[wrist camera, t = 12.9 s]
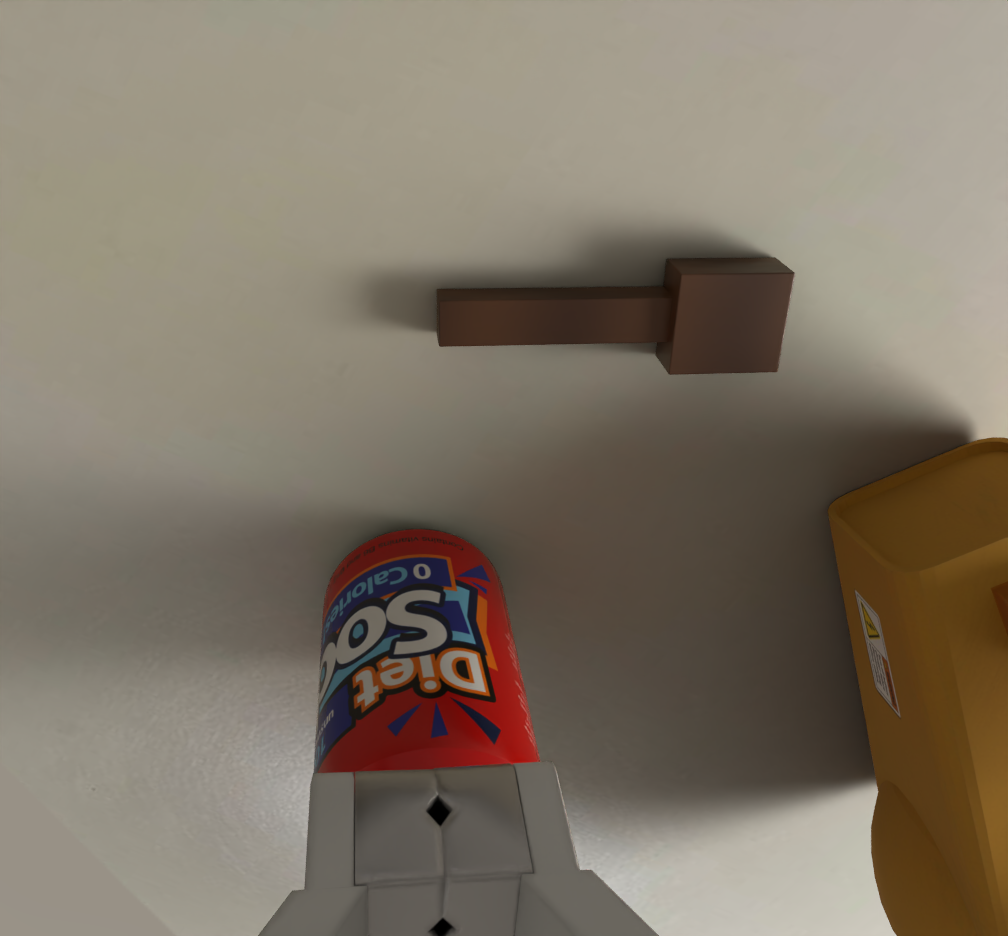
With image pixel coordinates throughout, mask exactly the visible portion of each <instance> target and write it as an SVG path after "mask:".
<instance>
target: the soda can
mask: <svg viewBox="0 0 1008 936" xmlns="http://www.w3.org/2000/svg"><path fill="white" fill-rule="evenodd" d="M528 762H540V758H539V753H538V748H537V744H536V739H535V734H534V730H533V725H532V721H531V716H530V711H529V707H528V702H527V697H526V693H525V688H524V683H523V679H522V674H521V669H520V665H519V660H518V655H517V651H516V646H515V642H514V637H513V632H512V628H511V623H510V618H509V614H508V609H507V604H506V600H505V595H504V591H503V587H502V584H501V581H500V578H499V576H498V574H497V572H496V570H495V568H494V566H493V565H492V563H491V562H490V561H489V559H488V558H487V557H486V556H485V555H484V554H483V553H482V552H481V551H480V550H479V549H478V548H476V547H475V546H473V545H472V544H470V543H469V542H467V541H465V540H463V539H461V538H459V537H457V536H454V535H451V534H448V533H445V532H440V531H435V530H427V529H408V530H400V531H395V532H391V533H387V534H384V535H381V536H379V537H376V538H374V539H372V540H370V541H368V542H366V543H364V544H362V545H361V546H359V547H358V548H356V549H355V550H354V551H352V552H351V553H350V554H349V555H348V556H347V557H346V558H345V559H344V560H343V561H342V562H341V563H340V564H339V566H338V567H337V569H336V570H335V572H334V573H333V575H332V577H331V579H330V581H329V584H328V587H327V590H326V594H325V599H324V608H323V621H322V638H321V656H320V673H319V690H318V707H317V724H316V742H315V759H314V773H337V772H354V776H355V771H386V770H422V769H434V768H444V767H459V766H475V765H490V764H505V763H511V765H512V764H513V763H528Z"/></svg>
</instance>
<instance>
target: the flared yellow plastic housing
mask: <svg viewBox="0 0 1008 936" xmlns="http://www.w3.org/2000/svg"><path fill="white" fill-rule="evenodd" d="M828 516H829V522H830V527H831V533H832V538H833V544H834V549H835V555H836V560H837V566H838V571H839V577H840V583H841V588H842V594H843V599H844V605H845V610H846V616H847V621H848V627H849V632H850V638H851V643H852V649H853V654H854V660H855V665H856V671H857V676H858V682H859V687H860V693H861V698H862V704H863V710H864V715H865V721H866V726H867V732H868V737H869V743H870V748H871V754H872V759H873V765H874V770H875V776H876V781H877V787H878V796H877V800H876V805H875V809H874V815H873V820H872V826H871V853H872V860H873V867H874V874H875V879H876V883H877V887H878V891H879V895H880V899H881V903H882V905H883V908H884V910H885V913H886V915H887V917H888V920H889V922H890V925H891V927H892V929H893V931H894V932H895V934H896V935H897V936H1008V439H1007V438H987V439H981V440H977V441H974V442H971V443H968V444H965V445H963V446H960V447H958V448H956V449H953V450H951V451H948V452H946V453H944V454H941V455H939V456H936V457H934V458H931V459H929V460H927V461H924V462H922V463H919V464H917V465H915V466H912V467H910V468H907V469H905V470H903V471H900V472H898V473H895V474H893V475H891V476H888V477H886V478H883V479H881V480H878V481H876V482H874V483H871V484H869V485H866V486H864V487H862V488H859V489H857V490H854V491H852V492H850V493H847V494H845V495H843V496H841V497H840V498H838V499H836V500H835V501H834V502H833V503H832V504H831V505H830V506H829V509H828Z"/></svg>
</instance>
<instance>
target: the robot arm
mask: <svg viewBox="0 0 1008 936" xmlns="http://www.w3.org/2000/svg"><path fill="white" fill-rule="evenodd" d="M258 936H659V935H658V934H657V933H656V932H655V931H654V930H653V929H652V928H651V927H649V926H648V925H647V924H646V923H645V922H644V921H643V920H642V919H641V918H640V917H639V916H638V915H637V914H636V913H635V912H634V911H633V910H632V909H631V908H630V907H629V906H628V905H627V904H626V903H625V902H624V901H623V900H622V899H621V898H620V897H619V896H618V895H617V894H616V893H615V892H614V891H613V890H612V889H611V888H610V887H609V886H608V885H607V884H606V883H605V882H604V881H603V880H602V879H600V878H599V877H598V876H597V875H596V874H595V873H594V872H593V871H592V870H580V868H579V864H578V860H577V855H576V851H575V847H574V843H573V838H572V834H571V830H570V825H569V821H568V817H567V813H566V808H565V804H564V800H563V795H562V791H561V787H560V783H559V778H558V774H557V770H556V767H555V765H554V764H553V763H552V761H546V762H528V763H513V764H512V765H511V763H505V764H490V765H475V766H459V767H444V768H434V769H422V770H386V771H355V776H354V772H337V773H313V777H312V781H311V786H310V804H309V821H308V838H307V856H306V873H305V890H295V891H292V892H291V893H290V894H289V896H288V897H287V898H286V899H285V901H284V902H283V903H282V905H281V906H280V907H279V909H278V910H277V911H276V913H275V914H274V915H273V917H272V918H271V919H270V921H269V922H268V923H267V925H266V926H265V927H264V928H263V930H262V931H261V932H260V934H259V935H258Z"/></svg>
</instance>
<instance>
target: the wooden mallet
mask: <svg viewBox="0 0 1008 936" xmlns="http://www.w3.org/2000/svg"><path fill="white" fill-rule="evenodd" d="M794 277H795V273H794V272H793V271H792V270H790V269H789V268H788V267H787V266H785V265H784V264H783V263H781V262H780V261H779V260H778V259H776V258H679V259H667V260H666V267H665V276H664V285H663V286H652V287H570V288H487V289H437V290H436V303H437V338H438V343H439V346H440V347H444V346H495V345H546V344H597V343H648V342H657V347H656V357H657V358H658V359H659V361H660V362H661V364H662V365H663V367H664V368H665V369H666V371H667V372H668V374H670V375H672V374H714V373H756V372H777V371H778V366H779V360H780V355H781V349H782V344H783V338H784V333H785V327H786V322H787V316H788V310H789V305H790V299H791V294H792V288H793V283H794Z"/></svg>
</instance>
